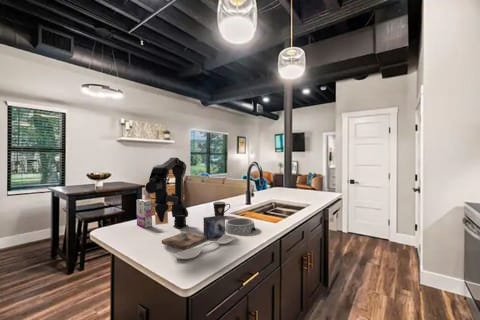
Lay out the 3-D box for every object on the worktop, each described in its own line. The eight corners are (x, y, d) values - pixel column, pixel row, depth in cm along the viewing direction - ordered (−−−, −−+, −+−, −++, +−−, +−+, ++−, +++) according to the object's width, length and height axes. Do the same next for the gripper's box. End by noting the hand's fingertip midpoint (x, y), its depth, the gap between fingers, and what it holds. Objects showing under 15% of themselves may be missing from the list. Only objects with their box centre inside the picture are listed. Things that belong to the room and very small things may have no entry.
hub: (155, 224, 117) (155, 214, 117) (155, 221, 123) (155, 211, 123) (168, 223, 120) (167, 213, 119) (167, 220, 125) (167, 210, 125)
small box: (207, 240, 123) (206, 220, 123) (203, 236, 129) (202, 217, 128) (225, 236, 128) (225, 217, 127) (221, 233, 133) (220, 214, 133)
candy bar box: (152, 226, 147) (152, 200, 147) (145, 228, 144) (144, 201, 143) (144, 223, 155) (143, 198, 154) (136, 225, 151) (135, 199, 150)
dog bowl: (219, 232, 135) (219, 223, 135) (235, 224, 151) (234, 216, 151) (246, 237, 127) (246, 227, 127) (259, 228, 143) (259, 219, 143)
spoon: (237, 243, 119) (237, 236, 119) (182, 265, 96) (182, 256, 96) (225, 238, 125) (225, 232, 125) (170, 258, 102) (170, 250, 102)
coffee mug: (212, 217, 166) (211, 203, 166) (215, 214, 175) (215, 201, 174) (228, 218, 164) (227, 204, 164) (230, 215, 173) (230, 201, 172)
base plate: (185, 234, 133) (185, 226, 132) (206, 239, 123) (206, 231, 123) (161, 243, 120) (161, 234, 119) (182, 250, 110) (182, 240, 110)
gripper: (179, 191, 115) (179, 223, 115) (175, 187, 132) (175, 214, 133) (154, 193, 111) (155, 226, 111) (154, 188, 128) (154, 216, 129)
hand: (161, 220), depth 121 cm, fingers closed on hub, 6 cm apart
